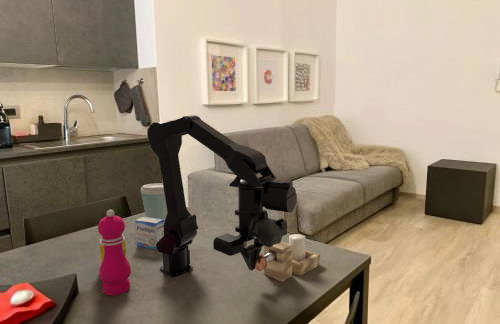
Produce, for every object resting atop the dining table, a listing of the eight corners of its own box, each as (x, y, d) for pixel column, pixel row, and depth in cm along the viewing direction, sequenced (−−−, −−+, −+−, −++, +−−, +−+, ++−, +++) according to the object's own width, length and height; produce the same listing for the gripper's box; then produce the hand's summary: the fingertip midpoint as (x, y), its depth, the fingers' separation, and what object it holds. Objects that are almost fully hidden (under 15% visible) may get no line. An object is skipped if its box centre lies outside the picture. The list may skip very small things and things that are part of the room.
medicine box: (136, 247, 119) (134, 220, 117) (145, 242, 123) (143, 215, 122) (157, 250, 116) (156, 223, 115) (166, 245, 120) (164, 218, 119)
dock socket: (286, 283, 95) (286, 251, 94) (260, 272, 101) (260, 241, 100) (320, 264, 105) (320, 235, 104) (294, 255, 111) (294, 227, 110)
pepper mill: (122, 298, 90) (116, 215, 86) (94, 295, 91) (86, 213, 87) (137, 283, 97) (132, 206, 93) (111, 280, 98) (104, 204, 94)
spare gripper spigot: (298, 270, 102) (298, 241, 101) (285, 265, 105) (285, 237, 104) (308, 265, 105) (308, 237, 104) (295, 260, 108) (295, 233, 107)
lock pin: (264, 273, 92) (263, 257, 92) (252, 268, 95) (251, 252, 94) (286, 261, 98) (286, 246, 98) (274, 257, 101) (274, 242, 100)
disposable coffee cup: (142, 221, 142) (140, 181, 139) (172, 219, 145) (170, 179, 142) (142, 231, 132) (139, 189, 129) (174, 228, 135) (172, 186, 132)
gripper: (246, 224, 77) (247, 296, 80) (303, 204, 90) (302, 267, 93) (210, 212, 85) (213, 279, 88) (268, 195, 98) (268, 254, 101)
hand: (251, 269), depth 92 cm, fingers closed
